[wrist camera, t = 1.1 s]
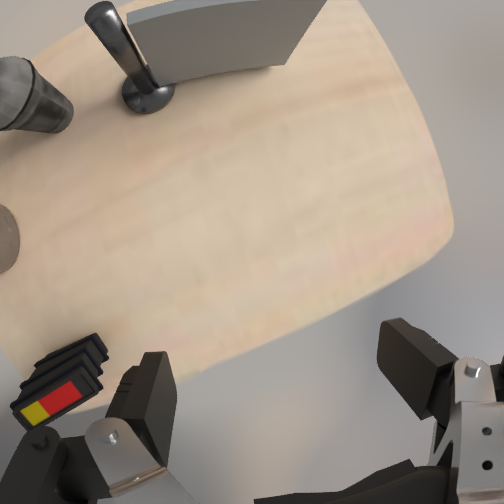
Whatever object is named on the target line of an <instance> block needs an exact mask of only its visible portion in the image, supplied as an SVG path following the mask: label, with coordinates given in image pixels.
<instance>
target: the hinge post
mask: <svg viewBox="0 0 504 504" xmlns="http://www.w3.org/2000/svg"><path fill="white" fill-rule="evenodd" d="M84 19H85V22H86V23H87V24H88V26H89V27H90V28H91V30H92V31H93V32H94V33H95V35H96V36H97V37H98V39H99V40H100V41H101V42H102V44H103V45H104V46H105V48H106V49H107V50H108V51H109V53H110V54H111V55H112V57H113V58H114V59H115V60H116V62H117V63H118V64H119V66H120V67H121V68H122V70H123V71H124V72H125V73H126V75H127V76H128V77H127V78H126V80H125V82H124V84H123V88H122V96H123V99H124V102H125V103H126V104H127V106H128V107H129V108H131V109H132V110H133V111H135V112H137V113H141V114H150V113H154V112H157V111H159V110H160V109H162V108H163V107H165V106H166V105H167V104H168V103H169V102H170V100H171V99H172V97H173V94H174V90H175V83H172V84H168V85H165V86H161V87H159V85H158V83H157V81H156V79H155V77H154V75H153V73H152V72H151V70H150V68H149V66H148V64H147V65H145V63H144V61H143V59H142V57H141V55H140V53H139V52H138V50H137V48H136V46H135V44H134V42H133V41H132V39H131V37H130V35H129V33H128V31H127V29H126V28H125V26H124V24H123V22H122V20H121V18H120V17H119V15H118V13H117V11H116V9H115V7H114V5H113V4H112V3H111V2H109V1H102V2H98V3H96V4H94V5H93V6H92V7H91V8H89V10H88V11H87V12H86V14H85V18H84Z"/></svg>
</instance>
